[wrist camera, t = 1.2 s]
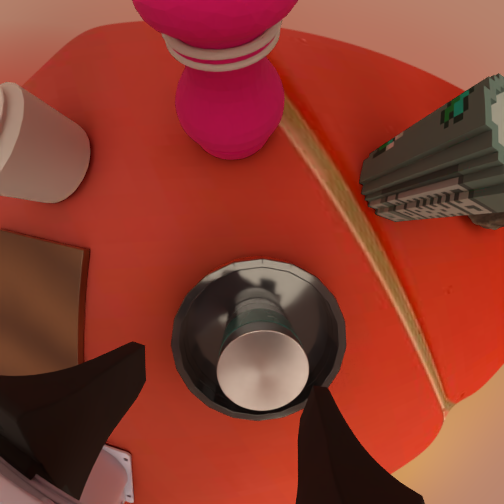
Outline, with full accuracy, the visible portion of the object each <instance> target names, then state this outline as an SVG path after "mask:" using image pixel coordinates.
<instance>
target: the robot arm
mask: <svg viewBox="0 0 504 504" xmlns="http://www.w3.org/2000/svg"><path fill="white" fill-rule="evenodd" d="M145 381H146V370H145V345H142V344H139V343H136V342H133V341H132V342H130V343H128V344H125V345H123V346H121V347H119V348H117V349H115V350H112V351H110V352H108V353H106V354H104V355H101V356H99V357H97V358H94V359H92V360H89V361H87V362H84V363H81V364H79V365H76V366H73V367H70V368H66V369H62V370H58V371H54V372H48V373H42V374H36V375H24V376H5V375H0V504H124V503H125V501H127V502H130V503H133V502H134V492H133V480H132V464H131V455H130V453H128V452H126V451H123V450H120V449H117V448H114V447H111V446H108V445H106V444H105V443H106V441H107V439H108V437H109V436H110V434H111V433H112V431H113V430H114V428H115V427H116V426H117V424H118V423H119V422H120V420H121V419H122V418H123V416H124V415H125V414H126V412H127V411H128V409H129V408H130V407H131V405H132V404H133V403H134V401H135V400H136V398H137V397H138V395H139V393H140V391H141V389H142V387H143V385H144V383H145ZM126 458H127V459H126ZM296 504H425V503H424V500H423V497H422V496H421V495H420V494H418V493H416V492H415V491H413V490H411V489H410V488H408V487H407V486H405V485H404V484H402V483H401V482H399V481H398V480H397V479H396V478H394V477H393V476H392V475H390V474H389V473H388V472H387V471H386V470H385V469H384V468H383V467H381V466H380V465H379V464H378V463H377V462H376V461H375V460H374V459H373V458H372V457H371V456H370V454H369V453H368V452H367V451H366V450H365V449H364V447H363V446H362V445H361V444H360V442H359V441H358V440H357V438H356V437H355V435H354V434H353V432H352V431H351V429H350V428H349V426H348V424H347V423H346V421H345V419H344V418H343V416H342V414H341V412H340V411H339V409H338V407H337V405H336V403H335V401H334V399H333V397H332V395H331V393H330V391H329V389H328V388H327V387H321V386H314V385H313V387H312V389H311V392H310V395H309V397H308V400H307V403H306V405H305V408H304V410H303V413H302V415H301V418H300V425H299V434H298V490H297V498H296Z"/></svg>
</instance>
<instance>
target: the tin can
mask: <svg viewBox="0 0 504 504" xmlns="http://www.w3.org/2000/svg"><path fill="white" fill-rule="evenodd" d="M308 375H309V362H308V358H307V356H306V353H305V351H304V349H303V346H302V344H301V342H300V340H299V338H298V336H297V334H296V332H295V330H294V328H293V327H292V325H291V323H290V322H289V320H288V319H287V317H286V316H285V315H284V313H283V312H282V311H280V310H279V309H278V308H276V307H274V306H272V305H269V304H265V303H253V304H248V305H245V306H243V307H241V308H240V309H238V310H237V311H235V312H234V313H233V314H232V316H231V317H230V318H229V320H228V322H227V325H226V328H225V331H224V334H223V338H222V342H221V347H220V351H219V358H218V364H217V378H218V382H219V385H220V387H221V389H222V391H223V392H224V393H225V395H226V396H227V397H228V398H229V399H230V400H231V401H233V402H234V403H236V404H237V405H239V406H241V407H244V408H247V409H251V410H258V411H265V410H272V409H276V408H279V407H282V406H284V405H286V404H288V403H289V402H291V401H292V400H294V399H295V398H296V397H297V396H298V395H299V394H300V393H301V391H302V390H303V388H304V386H305V384H306V382H307V379H308Z"/></svg>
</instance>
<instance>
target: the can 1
mask: <svg viewBox="0 0 504 504" xmlns="http://www.w3.org/2000/svg"><path fill="white" fill-rule="evenodd" d="M89 159H90V142H89V139H88V137H87V134H86V132H85V131H84V130H83V129H82V128H81V127H80V126H79V125H78V124H76V123H75V122H73V121H72V120H70V119H69V118H67V117H66V116H64V115H63V114H61V113H60V112H58V111H57V110H55V109H54V108H52V107H51V106H49V105H48V104H46V103H45V102H43V101H42V100H40V99H39V98H37V97H36V96H34V95H33V94H31V93H30V92H28V91H26V90H25V89H23V88H22V87H20V86H19V85H17V84H16V83H10V82H5V83H3V84H0V195H1V196H7V197H13V198H19V199H26V200H32V201H38V202H44V203H57V202H59V201H62V200H64V199H66V198H67V197H68V196H70V195H71V194H72V193H73V192H74V191H75V190H76V189H77V187H78V186H79V184H80V183H81V182H82V180H83V178H84V176H85V173H86V171H87V168H88V165H89Z"/></svg>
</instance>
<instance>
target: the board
mask: <svg viewBox="0 0 504 504" xmlns="http://www.w3.org/2000/svg"><path fill="white" fill-rule="evenodd" d="M89 255H90V249H86V248H81V247H77V246H72V245H68V244H64V243H59V242H55V241H51V240H46V239H42V238H38V237H34V236H30V235H26V234H21V233H17V232H13V231H9V230H5V229H0V375H5V376H24V375H36V374H42V373H48V372H54V371H58V370H62V369H66V368H70V367H73V366H76V365H79V364H81V363H84V314H85V297H86V284H87V273H88V264H89Z"/></svg>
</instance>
